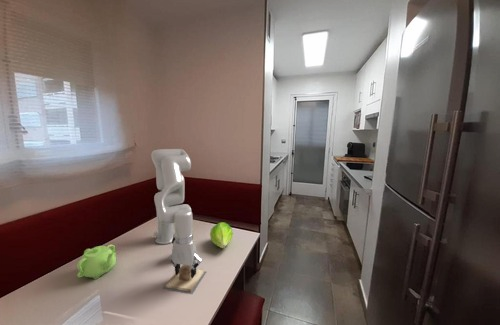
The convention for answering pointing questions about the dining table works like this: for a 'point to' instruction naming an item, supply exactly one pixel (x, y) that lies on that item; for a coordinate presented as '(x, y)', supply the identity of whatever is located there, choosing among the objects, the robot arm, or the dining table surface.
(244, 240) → the dining table surface
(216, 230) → the lettuce
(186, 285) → the lid
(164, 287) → the mat
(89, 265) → the teapot
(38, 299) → the dining table surface
